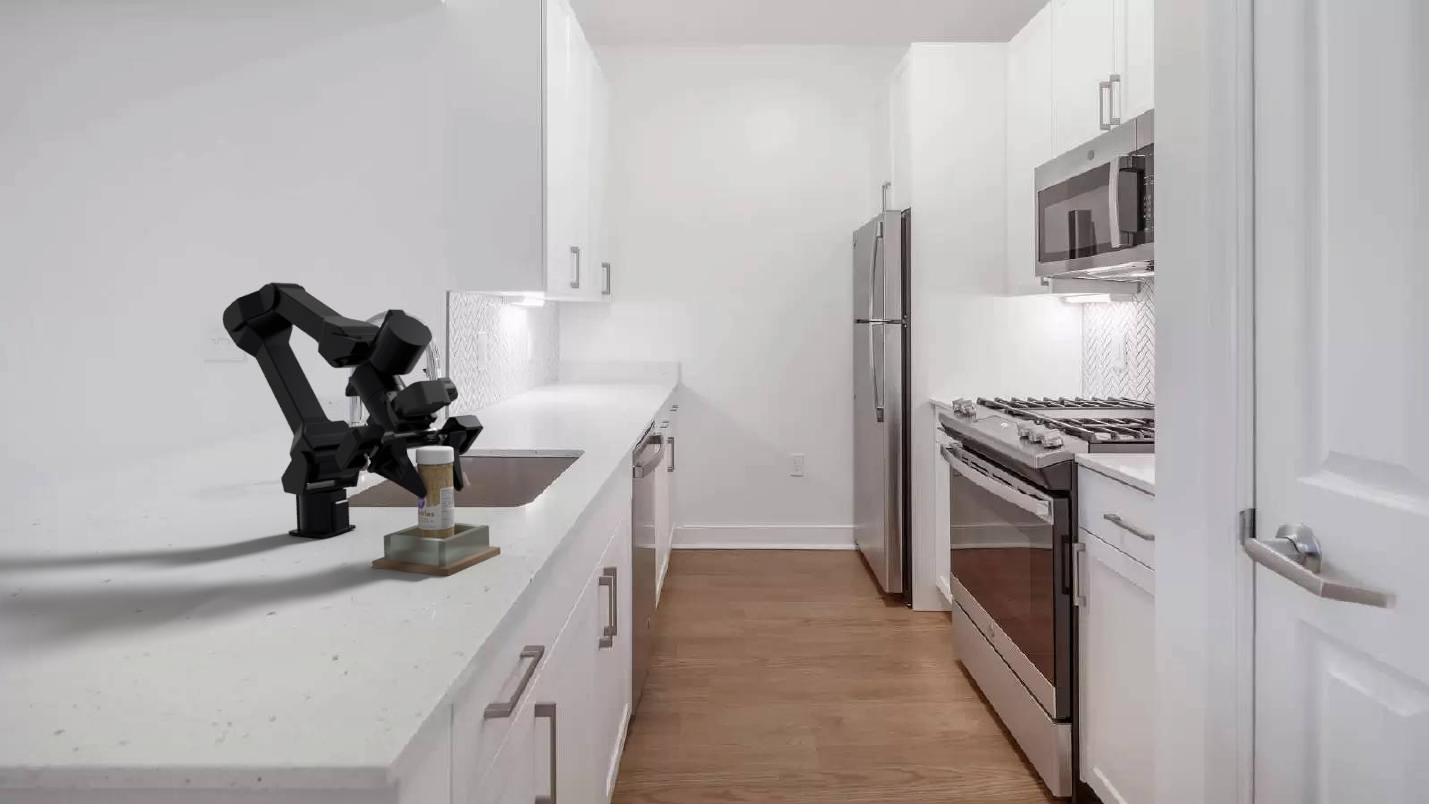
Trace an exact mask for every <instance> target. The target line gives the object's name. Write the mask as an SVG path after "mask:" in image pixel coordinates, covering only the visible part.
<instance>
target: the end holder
mask: <svg viewBox="0 0 1429 804" xmlns="http://www.w3.org/2000/svg"><path fill="white" fill-rule="evenodd" d="M383 554H384V555H383V556H382V557H380V558H376V559H375V560H372V561H371V564H372V565H371V567H372V568H373V569H374V568H375V569H383V570H391V571H399V572H409V573H418V574H429V575H436V576H444V577H448V576H452V575H453V574H456V573H458V572H461V571H463V570H466V569H467V568H470V567H472V566H474V565H477V564H479V563H481V562H484V561H487V560H488V559H491V558H493V557H496V556H498V555H500V554H501V547H500V546H493V545H490V525H488V524H487V525H486V524H474V523H466V522H465V523H463V522H454V536H451V537H448V538H445V539H437V538H427V537H419V528H418V524H416V525H415V524H414V525H413V526H409V527H407V528H403V529H401V530H396V531H394V532H391V533H388V534H384V535H383Z"/></svg>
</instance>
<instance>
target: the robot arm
mask: <svg viewBox="0 0 1429 804" xmlns="http://www.w3.org/2000/svg"><path fill="white" fill-rule="evenodd" d="M222 324H223V327H224V330H226V332H227V334H228V335H229V337H230V338H231V340H232V341H233V343H234V344H235V346H236V347H237V348H239V349H240V350H242V351H244V352H245V353H246V354H248V355H250V356H252V357H253V358H255V360H256V361H257V364H258V366H259V368H260V369H261V371H262V373H263V375H264V378H265V380H266V382H267V384H268V386H269V388H270V390H271V391H272V394H273V396H274V398H275V400H276V401H277V402H276V403H277V404H278V406H279V408H280V410H281V412H282V415H283V416H284V418H285V421H286V422H287V424H288V426H289V428H290V431H291V432H292V435H293V437H292V441H291V446H290V450H289V456H290V459H291V461H290V462H289V463H288V465H287V467H286V469H285V470H284V472H283V474H282V476H281V477H280V478H281V484H282V488H283V492H284V493H286V494H290V495H291V494H292V495H295V505H296V507H295V509H296V528H295V529H291V530H288V535H290V536H300V537H310V538H319V539H324V538H328V537H332V536H335V535H338V534H342V533H345V532H348V531H351V530H355V529H356V528H357V526H356V524H350V505H349V504H350V503H349V502H350V501H349V499H347V498H348V496H347V493H348V492H347V488H356V487H358V482H359V477H360V471H361V470H362V471H363V470H364V469H365V466H366V464H367V463H368V460H369V464H368V465H367V467H366V471H367V473H368V474H376V475H379V476H380V477H382V478H383V479H386V480H388V481H390V482H393V483H394V484H396V485H397V486H399V487H401V488H403V489H405V490H406V491H408V492H410V493H411V494H413V495H415V496H417V498H418V497H420V498H425V497H426V495H427V490H426V488H425V486H424V483H423V481H422V480H421V478H420V476H419V474H418V470H417V469H416V468H415V466H414V463H413V462H412V459H410V457H409V454H408V450H414V449H415V450H416V449H417V448H421V447H427V446H449V447H452V448H453V450H454V461H453V462H452V463H453V468H452V469H453V486H454V490H456V491H457V492H462V490H463V489H464V487H465V484H464V478H463V473H462V467H461V466H462V465H461V460H460V456H463V455H464V454H466V453H468V451H469V450H470V448H471V447H472V445H473V444H474V442H475V441H476V440H477V439H478V437H479V435H481V432H482V431H483V429H484V427H483V425H482V423H481V421H480V420H479V418H478V417H477V415H473V414H467V415H466V414H465V415H457V416H456V415H455V416H448V418H447V419H446V421H445V423H443V425H442V427H441V428H438V429H436V427H434V428H432V427H431V424H434V423H436V421H437V419H438V417H439V416H438V414H437V412H438V411H440V410H441V409H443V408H444V407H448V406H450V405H451V404H452V403H453V402H454V401H456V400H458V396H459V392H458V388H457V386H456V384H455V383H454V381H453V380H452V379H451V377H449V376H445V377H438V378H437V379H431V380H418V381H414V382H412V383H410V384H409V385H406V383H405V382H404V380H403V379H402V378H401V377H402V376H406V375H409V374H411V373H412V372H413V370H414V369H415V367H416V366H417V364H418V362H419V361H420V359H421V358H422V356H423V354H425V353H424V352H425V351H426V350H427V347H428V346H429V345H430V343H431V341H432V339H433V335H432V334H433V333H432V331H431V330H430V328H429V326H428V325H425V324H424V323H422V321H419V320H418V319H416V318H415V317H413V316H410V315H407V314H406V312H405V311H404V309H394V308H393V309H390V308H389V309H388V310H387V312H386V314H385V316H384V319H383V321H382V323H381V324H380V326H378V325H376V324H373V323H370V322H367V321H365V320H359V319H354V318H349V317H345V316H343V315H342V314H341V313H339V312H338V311H335V309H333V308H331V307H330V306H329V305H327V304H326V303H324V302H323V301H321V300H320V299H318V298H316V297H315V296H313V295H312V294H310V293H309V292H307V291H306V288H305V287H304V286H302V285H300V284H298V283H295V282H294V283H292V282H291V283H290V282H274V281H273V282H269V283H266V284H264V285H263V286H261V287H260V288H259V289H258V290H255V291H252V292H249V293H248V294H244V295H242V296H239V297H237V298H236V299H235V300H234V301H232V302H231V303H230V304H229V305H228V306H227V307H226V308H225V309H224V311H223V313H222ZM294 326H295V327H297V328H298V329H299V330H301V331H302V332H303V333H305V334H306V335H307V336H309V337H310V338H312V339H313V340H315V342H316V343H317V345H318V347H317V352H318V353H319V355H320V356H321V357H322V358H323V359H324V360H325V362H326V363H327V364H328V365H330V366H331V367H332V368H334V369H351V368H353V369H354V370H353V372H352V374H351V376H348V377H347V378H348V381H347V382H348V383H347V385H346V386H345V393H344V396H345V397H347V398H352V397H354V398H355V397H359V399H360V401H361V402H362V403H363V405H364V407H365V409H366V411H367V413H368V417H367V419H366V421H365V422H366V425H365V424H364V425H354V426H350V425H349V424H348V422H346V421H345V420H343V419H342V420H340V419H339V420H331V419H329V418H328V416H327V414H326V413H325V411H324V409H323V407H322V404H321V403H320V401H319V398H318V397H317V394H316V393H315V391H314V390H313V388H312V385H311V384H310V382H309V380H308V377H307V376H306V373H305V372H304V370H303V368H302V366H301V364H300V362H299V360H298V359H297V356H296V354H295V352H294V350H293V349H292V347H291V344H290V341H291V336H292V332H293V328H294ZM365 455H367V457H368V459H367V458H366V456H365Z"/></svg>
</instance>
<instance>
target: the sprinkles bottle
mask: <svg viewBox="0 0 1429 804" xmlns="http://www.w3.org/2000/svg"><path fill="white" fill-rule="evenodd" d="M453 461H454V450H453V448H452V447H449V446H427V447H421V448H416V449H415V463H416V467H417V473H418V474H419V476H420V478H421V480H422V481H423V483H424V486H425V488H426V490H427V495H426V497H425V498H420V497H418V496H417V525H418V528H419V537H427V538H437V539H445V538H448V537H451V536H454V523H455V491H454V490H455V489H454V486H453V469H452V468H453V463H452V462H453Z"/></svg>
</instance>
